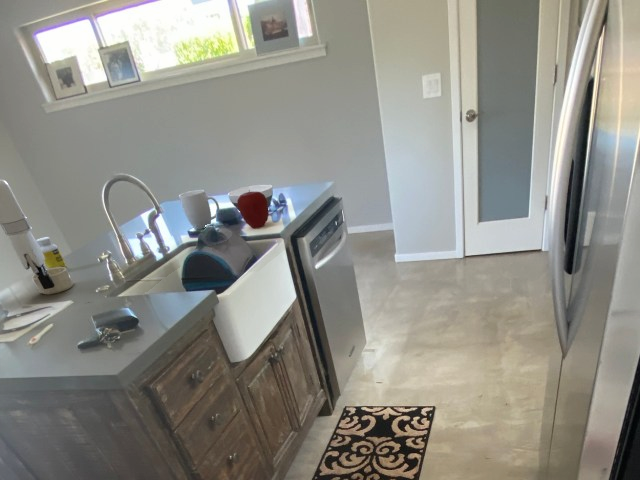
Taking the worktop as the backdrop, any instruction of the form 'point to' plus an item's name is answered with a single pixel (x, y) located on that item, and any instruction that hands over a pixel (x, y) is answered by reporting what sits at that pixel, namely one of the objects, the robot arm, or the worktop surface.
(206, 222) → the mug
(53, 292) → the small bowl
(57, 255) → the pill bottle
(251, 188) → the bowl
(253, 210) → the apple
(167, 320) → the worktop surface
